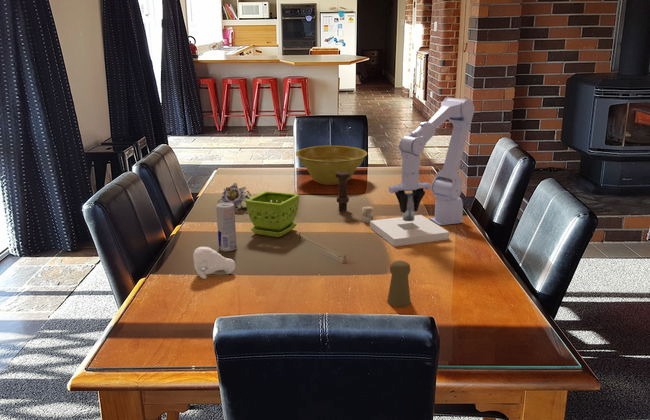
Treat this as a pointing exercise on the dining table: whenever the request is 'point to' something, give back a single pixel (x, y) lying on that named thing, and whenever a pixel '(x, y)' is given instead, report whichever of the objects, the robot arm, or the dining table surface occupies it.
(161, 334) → the dining table surface
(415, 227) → the hole plate
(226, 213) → the beverage can
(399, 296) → the pepper shaker
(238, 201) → the passion flower
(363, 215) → the short pin
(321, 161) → the planter bowl
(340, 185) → the bolt
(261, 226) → the flower pot
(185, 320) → the dining table surface
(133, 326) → the dining table surface
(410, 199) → the long pin
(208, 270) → the white rounded lumpy piece
